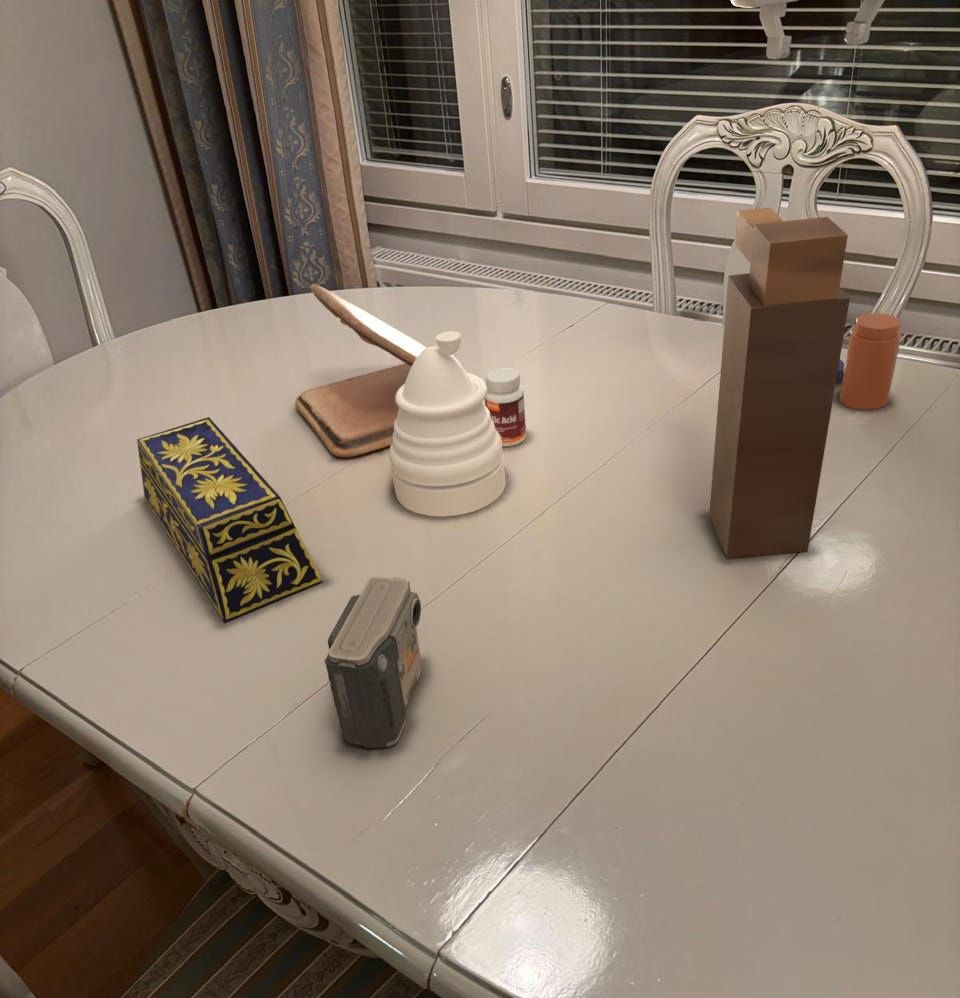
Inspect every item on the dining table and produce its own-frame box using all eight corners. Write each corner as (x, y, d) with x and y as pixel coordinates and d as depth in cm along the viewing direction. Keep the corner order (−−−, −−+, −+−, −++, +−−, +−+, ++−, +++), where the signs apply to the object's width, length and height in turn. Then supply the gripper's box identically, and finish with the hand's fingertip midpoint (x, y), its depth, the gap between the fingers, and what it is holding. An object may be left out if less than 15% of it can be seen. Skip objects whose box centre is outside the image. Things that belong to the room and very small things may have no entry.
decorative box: (224, 623, 90) (197, 547, 84) (144, 498, 111) (119, 431, 105) (324, 582, 94) (305, 507, 88) (229, 469, 114) (208, 403, 109)
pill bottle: (484, 447, 113) (478, 382, 107) (493, 428, 116) (487, 365, 111) (522, 448, 112) (517, 383, 106) (529, 429, 115) (526, 366, 110)
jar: (896, 397, 113) (913, 317, 106) (872, 414, 110) (888, 333, 104) (854, 385, 116) (868, 308, 110) (830, 401, 113) (843, 323, 107)
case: (490, 419, 118) (479, 294, 108) (338, 465, 112) (310, 338, 102) (429, 366, 133) (414, 252, 123) (291, 404, 127) (263, 288, 117)
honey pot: (520, 464, 109) (509, 314, 97) (483, 522, 100) (467, 365, 88) (421, 454, 113) (399, 309, 101) (377, 509, 104) (348, 357, 92)
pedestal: (708, 515, 97) (728, 275, 81) (785, 508, 96) (819, 265, 80) (726, 559, 90) (751, 307, 74) (808, 551, 90) (850, 297, 74)
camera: (395, 756, 74) (374, 664, 68) (330, 746, 76) (304, 655, 69) (437, 663, 82) (423, 574, 76) (378, 656, 84) (359, 568, 78)
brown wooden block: (718, 245, 87) (722, 189, 84) (782, 239, 86) (789, 182, 83) (763, 306, 74) (770, 242, 71) (838, 299, 74) (848, 234, 71)
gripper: (908, -142, 86) (879, 32, 95) (724, -119, 81) (712, 62, 90) (959, -145, 82) (924, 37, 91) (768, -121, 77) (750, 70, 86)
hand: (817, 50), depth 90 cm, fingers open, 8 cm apart
